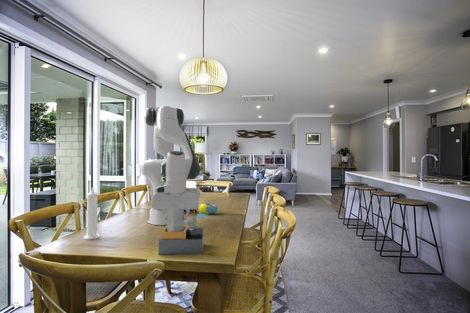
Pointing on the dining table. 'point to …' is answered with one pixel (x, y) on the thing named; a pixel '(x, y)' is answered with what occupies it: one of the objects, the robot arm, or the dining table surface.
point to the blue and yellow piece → (206, 210)
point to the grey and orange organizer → (182, 241)
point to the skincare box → (175, 218)
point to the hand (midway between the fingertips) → (175, 219)
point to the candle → (91, 216)
